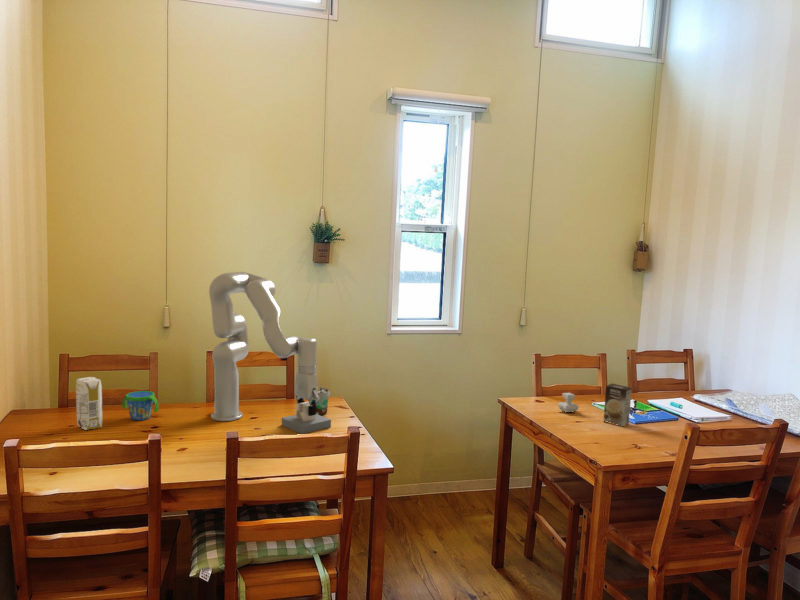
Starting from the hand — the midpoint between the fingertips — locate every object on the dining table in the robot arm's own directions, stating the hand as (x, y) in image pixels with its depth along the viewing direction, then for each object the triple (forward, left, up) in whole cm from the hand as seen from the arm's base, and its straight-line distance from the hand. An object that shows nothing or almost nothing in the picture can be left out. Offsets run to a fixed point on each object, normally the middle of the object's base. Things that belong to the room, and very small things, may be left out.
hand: (306, 412), depth 238 cm
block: (0, 0, -2) cm, 3 cm away
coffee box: (+77, +106, -6) cm, 131 cm away
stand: (0, 0, -5) cm, 5 cm away
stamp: (+55, +104, -6) cm, 118 cm away
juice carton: (-49, -66, -6) cm, 82 cm away
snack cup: (-49, -47, -6) cm, 68 cm away
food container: (-10, +15, -6) cm, 19 cm away
